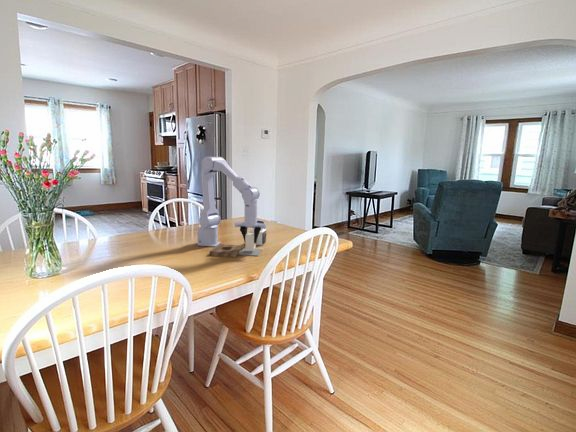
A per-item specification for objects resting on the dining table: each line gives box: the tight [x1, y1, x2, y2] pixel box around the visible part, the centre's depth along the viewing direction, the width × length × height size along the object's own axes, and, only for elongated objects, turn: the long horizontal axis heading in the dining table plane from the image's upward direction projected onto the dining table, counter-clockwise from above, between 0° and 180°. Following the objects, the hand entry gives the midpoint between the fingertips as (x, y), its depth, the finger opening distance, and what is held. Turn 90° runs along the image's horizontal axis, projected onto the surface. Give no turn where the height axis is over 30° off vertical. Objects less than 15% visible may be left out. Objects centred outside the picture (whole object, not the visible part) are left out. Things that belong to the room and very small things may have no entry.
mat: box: [238, 247, 263, 257], centre depth 149 cm, size 9×9×1 cm
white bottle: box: [248, 219, 267, 246], centre depth 163 cm, size 7×7×12 cm
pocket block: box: [209, 243, 243, 258], centre depth 148 cm, size 12×12×2 cm
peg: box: [244, 232, 257, 250], centre depth 148 cm, size 4×4×7 cm
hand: (250, 242), depth 148 cm, fingers closed on peg, 4 cm apart
